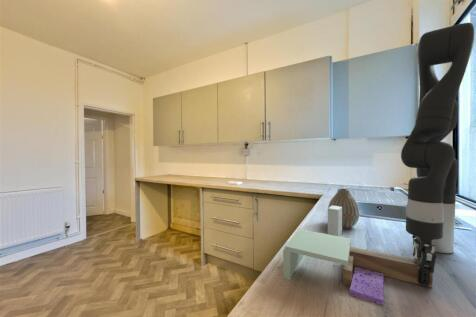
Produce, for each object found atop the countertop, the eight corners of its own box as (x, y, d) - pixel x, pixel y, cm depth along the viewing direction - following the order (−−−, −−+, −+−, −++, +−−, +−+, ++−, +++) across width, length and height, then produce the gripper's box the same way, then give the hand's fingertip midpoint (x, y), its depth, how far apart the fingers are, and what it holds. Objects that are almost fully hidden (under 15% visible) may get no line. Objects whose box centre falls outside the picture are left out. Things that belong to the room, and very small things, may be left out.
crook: (346, 261, 68) (346, 246, 68) (428, 280, 58) (429, 262, 58) (342, 284, 57) (343, 265, 57) (444, 312, 47) (445, 290, 46)
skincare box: (331, 232, 92) (331, 205, 92) (342, 235, 90) (342, 206, 89) (327, 236, 88) (327, 208, 87) (338, 239, 85) (338, 209, 85)
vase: (330, 230, 95) (331, 191, 94) (325, 220, 108) (326, 186, 107) (363, 233, 92) (364, 192, 91) (354, 222, 105) (355, 187, 104)
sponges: (383, 280, 59) (383, 273, 59) (383, 307, 49) (383, 299, 49) (354, 272, 63) (355, 266, 63) (349, 296, 53) (349, 288, 53)
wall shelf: (297, 254, 73) (297, 228, 72) (350, 268, 65) (351, 238, 64) (282, 277, 60) (283, 245, 59) (346, 297, 52) (347, 261, 51)
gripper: (452, 227, 49) (449, 301, 50) (435, 212, 61) (433, 271, 62) (411, 222, 53) (408, 290, 53) (402, 208, 65) (400, 264, 66)
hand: (421, 279), depth 58 cm, fingers closed on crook, 3 cm apart
